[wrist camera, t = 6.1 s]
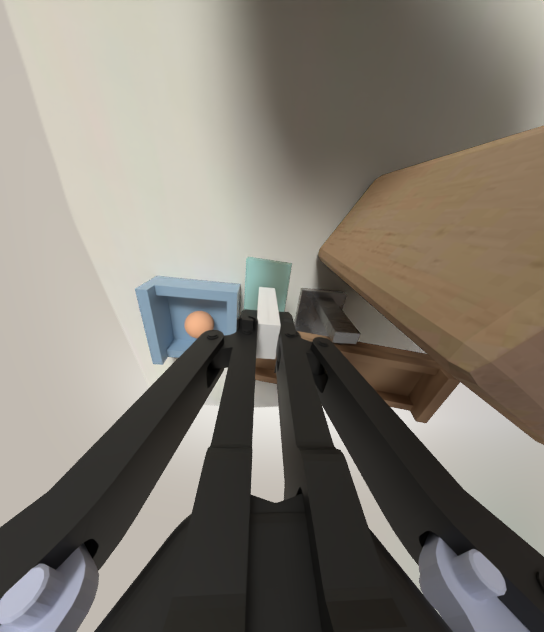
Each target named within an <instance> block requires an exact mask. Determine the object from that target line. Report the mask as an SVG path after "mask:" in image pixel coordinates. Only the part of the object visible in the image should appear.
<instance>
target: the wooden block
mask: <svg viewBox="0 0 544 632" xmlns="http://www.w3.org/2000/svg"><path fill="white" fill-rule="evenodd" d="M318 256H319V258H320V260H321V261H322V262H323V263H324V264H325V265H326V266H327V267H329V268H330V269H331V270H332V271H333V272H334V273H335V274H337V275H338V276H339V277H340V278H341V279H342V280H343V281H345V282H346V283H347V284H348V285H349V286H350V287H351V288H353V289H354V290H355V291H356V292H357V293H358V294H359V295H361V296H362V297H363V298H364V299H365V300H366V301H367V302H369V303H370V304H371V305H372V306H373V307H374V308H375V309H377V310H378V311H379V312H380V313H381V314H382V315H383V316H385V317H386V318H387V319H388V320H389V321H390V322H391V323H393V324H394V325H395V326H396V327H397V328H398V329H399V330H401V331H402V332H403V333H404V334H405V335H406V336H407V337H409V338H410V339H411V340H412V341H413V342H414V343H415V344H417V345H418V346H419V347H420V348H421V349H422V350H423V351H425V352H426V353H427V354H428V355H429V356H430V357H431V358H433V359H434V360H435V361H436V362H437V363H438V364H439V365H441V366H442V367H443V368H444V369H445V370H446V371H447V372H449V373H450V374H451V375H452V376H453V377H455V378H456V379H457V380H459V381H460V382H461V383H462V384H464V385H465V386H466V387H468V388H469V389H470V390H471V391H473V392H474V393H475V394H476V395H478V396H479V397H480V398H482V399H483V400H484V401H485V402H487V403H488V404H489V405H491V406H492V407H493V408H494V409H496V410H497V411H498V412H499V413H501V414H502V415H503V416H505V417H506V418H507V419H508V420H510V421H511V422H512V423H514V424H515V425H516V426H517V427H519V428H520V429H521V430H522V431H524V432H525V433H526V434H528V435H529V436H530V437H531V438H533V439H534V440H535V441H537V442H539V443H541V444H543V445H544V126H541V127H537V128H534V129H531V130H528V131H524V132H521V133H518V134H515V135H511V136H508V137H505V138H502V139H498V140H495V141H492V142H488V143H485V144H482V145H479V146H475V147H472V148H469V149H466V150H462V151H459V152H456V153H453V154H449V155H446V156H443V157H439V158H436V159H433V160H430V161H426V162H423V163H420V164H417V165H413V166H410V167H407V168H404V169H400V170H397V171H394V172H391V173H387V174H384V175H382V176H380V177H379V178H377V179H376V180H375V181H374V182H373V183H372V184H371V186H370V187H369V188H368V189H367V191H366V192H365V193H364V194H363V196H362V197H361V198H360V199H359V201H358V202H357V203H356V204H355V206H354V207H353V208H352V209H351V211H350V212H349V213H348V214H347V216H346V217H345V218H344V219H343V221H342V222H341V223H340V224H339V225H338V227H337V228H336V229H335V230H334V232H333V233H332V234H331V235H330V237H329V238H328V239H327V240H326V242H325V243H324V244H323V245H322V247H321V248H320V251H319V253H318Z"/></svg>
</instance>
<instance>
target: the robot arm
mask: <svg viewBox="0 0 544 632" xmlns="http://www.w3.org/2000/svg"><path fill="white" fill-rule="evenodd" d="M256 358H263V359H275V358H277V359H276V365H275V371H274V373H276V376H277V389H278V402H279V415H280V426H281V440H282V453H283V466H284V478H285V489H284V501H281V502H278V503H273V502H270V501H267V500H265V499H261V498H259V497H256V496H253V495H250V493H251V470H252V433H253V411H254V391H255V369H256ZM226 367H228V370H227V375H226V379H225V384H224V388H223V393H222V397H221V402H220V406H219V411H218V415H217V420H216V424H215V429H214V433H213V438H212V442H211V446H210V447H209V448H208V450H207V452H206V456H205V460H204V464H203V468H202V472H201V477H200V481H199V485H198V489H197V493H196V498H195V502H194V506H193V510H192V514H191V515H189V516H188V517H187V518H186V519H185V520H183V521H182V522H181V524H180V525H179V526H178V527H177V528H176V529H175V530H174V531H173V532H172V534H171V535H170V536H169V537H168V538H167V540H166V541H165V542H164V544H163V545H162V546H161V547H160V548H159V550H158V551H157V552H156V554H155V555H154V556H153V557H152V559H151V560H150V561H149V563H148V564H147V565H146V566H145V568H144V569H143V570H142V571H141V573H140V574H139V575H138V577H137V578H136V579H135V580H134V582H133V583H132V584H131V585H130V587H129V588H128V589H127V591H126V592H125V593H124V594H123V596H122V597H121V598H120V599H119V601H118V602H117V603H116V605H115V606H114V607H113V608H112V610H111V611H110V612H109V613H108V615H107V616H106V617H105V619H104V620H103V621H102V623H101V624H100V625H99V626H98V627H97V629H96V630H95V631H94V632H544V557H543V556H542V555H541V554H540V553H538V552H537V551H536V550H535V549H534V548H533V547H531V546H530V545H529V544H528V543H527V542H525V541H524V540H523V539H522V538H521V537H520V536H518V535H517V534H516V533H515V532H514V531H512V530H511V529H510V528H509V527H507V526H506V525H505V524H504V523H503V522H502V521H500V520H499V519H498V518H497V517H495V515H493V514H492V513H491V512H490V511H488V510H487V509H486V508H485V507H484V506H482V505H481V504H480V503H479V502H478V501H477V500H475V499H474V498H473V497H472V496H471V495H469V494H468V493H467V492H466V491H465V490H464V489H463V488H462V487H461V486H460V485H459V484H458V483H457V482H456V480H455V479H454V478H453V477H452V476H451V475H450V474H449V472H448V471H447V470H446V469H445V468H444V467H443V466H442V465H441V464H440V462H439V461H438V460H437V459H436V458H435V457H434V456H433V455H432V454H431V452H430V451H429V450H428V449H427V448H426V447H425V446H424V444H423V443H422V442H421V441H420V440H419V439H418V438H417V437H416V436H415V434H414V433H413V432H412V431H411V430H410V429H409V428H408V427H407V425H406V424H405V423H404V422H403V421H402V420H401V419H400V418H399V416H398V415H397V414H396V413H395V412H394V411H393V410H392V409H391V408H390V406H389V405H388V404H387V403H386V402H385V401H384V400H383V399H382V397H381V396H380V395H379V394H378V393H377V392H376V391H375V390H374V388H373V387H372V386H371V385H370V384H369V383H368V382H367V381H366V380H365V378H364V377H363V376H362V375H361V374H360V373H359V372H358V371H357V369H356V368H355V367H354V366H353V365H352V364H351V363H350V362H349V360H348V359H347V358H346V357H345V356H344V355H343V354H342V353H341V352H340V350H339V349H338V348H337V347H336V346H335V345H334V344H333V343H332V342H331V341H330V340H329V339H327V338H323V337H316V338H314V339H313V341H308V340H305V339H303V338H301V335H300V333H299V332H297V331H296V329H295V325H294V322H293V318H292V315H291V314H290V313H289V312H279V311H278V305H277V298H276V292H275V288H267V287H259V294H258V305H257V310H249V309H245V310H243V311H242V313H241V316H240V317H238V318H237V327H236V332H235V333H233V334H231V335H224V334H223V333H222V332H221V331H219V330H208V331H205V332H204V333H202V334H201V335H200V336H199V337H198V338H197V339H196V340H195V342H194V343H193V344H192V345H191V346H190V347H189V348H188V349H187V350H186V351H185V352H184V353H183V354H182V355H181V356H180V357H179V358H178V359H177V360H176V361H175V362H174V363H173V364H172V365H171V366H170V367H169V368H168V369H167V370H166V371H165V372H164V373H163V374H162V375H161V376H160V377H159V378H158V379H157V380H156V382H155V383H154V384H153V385H152V386H151V387H150V388H149V389H148V390H147V391H146V392H145V393H144V394H143V395H142V396H141V397H140V398H139V399H138V400H137V401H136V402H135V403H134V404H133V405H132V406H131V407H130V408H129V409H128V410H127V411H126V412H125V413H124V414H123V415H122V417H120V419H118V420H117V422H116V423H115V424H114V425H113V426H112V427H111V428H110V429H109V430H108V431H107V432H106V433H105V434H104V435H103V436H102V437H101V438H100V439H99V440H98V441H97V442H96V443H95V444H94V445H93V446H92V447H91V448H90V449H89V450H88V451H87V452H86V453H85V454H84V455H83V456H82V458H80V459H79V460H78V462H77V463H76V464H75V465H74V466H73V467H72V468H71V469H70V470H69V471H68V472H67V473H66V474H65V475H64V476H63V477H62V478H61V479H60V480H59V481H58V482H57V483H56V484H55V485H54V486H53V487H52V488H51V489H50V490H49V491H48V492H47V493H46V494H44V495H43V496H42V497H40V498H39V499H38V500H36V501H35V502H34V503H32V504H31V505H30V506H28V507H27V508H25V509H24V510H23V511H22V512H20V513H19V514H17V515H16V516H15V517H14V518H12V519H11V520H9V521H8V522H7V523H5V524H4V525H3V526H1V527H0V632H76V631H77V630H78V628H79V626H80V625H81V623H82V622H83V620H84V618H85V617H86V615H87V614H88V612H89V609H90V607H91V605H92V603H93V601H94V598H95V595H96V591H97V587H98V580H99V573H98V570H99V569H100V568H101V567H102V566H103V564H104V563H105V562H106V560H107V559H108V558H109V556H110V555H111V553H112V552H113V551H114V549H115V548H116V547H117V545H118V544H119V542H120V541H121V540H122V538H123V537H124V535H125V534H126V532H127V530H128V529H129V527H130V526H131V524H132V523H133V521H134V520H135V518H136V516H137V515H138V513H139V511H140V510H141V508H142V506H143V505H144V503H145V501H146V500H147V498H148V496H149V495H150V493H151V491H152V490H153V488H154V486H155V485H156V483H157V481H158V480H159V478H160V476H161V475H162V473H163V471H164V470H165V468H166V466H167V465H168V463H169V461H170V459H171V458H172V456H173V455H174V453H175V451H176V450H177V448H178V446H179V445H180V443H181V441H182V439H183V438H184V436H185V434H186V433H187V431H188V429H189V428H190V426H191V424H192V423H193V421H194V419H195V418H196V416H197V414H198V413H199V411H200V409H201V408H202V406H203V404H204V403H205V401H206V399H207V398H208V396H209V394H210V393H211V391H212V389H213V388H214V386H215V384H216V383H217V381H218V379H219V378H220V376H221V374H222V373H223V371H224V368H226ZM321 404H322V405H321ZM322 406H323V408H324V409H325V411H326V413H327V415H328V416H329V418H330V420H331V422H332V423H333V425H334V427H335V429H336V431H337V432H338V434H339V436H340V438H341V439H342V441H343V443H344V445H345V446H346V448H347V450H348V452H349V454H350V455H351V457H352V459H353V461H354V463H355V464H356V466H357V468H358V470H359V471H360V473H361V475H362V477H363V479H364V480H365V482H366V484H367V485H368V487H369V489H370V491H371V493H372V494H373V496H374V498H375V500H376V502H377V503H378V505H379V507H380V509H381V511H382V512H383V514H384V516H385V517H386V519H387V521H388V522H389V524H390V526H391V527H392V529H393V531H394V532H395V534H396V535H397V536H398V538H399V539H400V541H401V542H402V544H403V545H404V547H405V548H406V549H407V551H408V553H409V554H410V555H411V557H412V558H413V559H414V560H415V562H416V563H417V564H418V565H419V572H420V578H419V583H420V587H421V591H422V592H423V594H422V593H421V592H420V590H419V589H418V588H417V587H416V585H415V584H414V583H413V582H412V580H411V579H410V578H409V577H408V576H407V574H406V573H405V572H404V571H403V569H402V568H401V567H400V566H399V564H398V563H397V562H396V561H395V560H394V558H393V557H392V556H391V555H390V553H389V552H388V551H387V550H386V548H385V547H384V546H383V545H382V544H381V542H380V541H379V540H378V539H377V537H376V536H375V535H374V534H373V533H372V531H371V530H370V529H369V528H368V525H367V522H366V519H365V516H364V513H363V510H362V507H361V504H360V501H359V498H358V495H357V492H356V489H355V486H354V483H353V480H352V477H351V474H350V471H349V468H348V465H347V462H346V459H345V457H344V454H343V453H342V452H341V450H338V449H336V448H335V447H334V445H333V442H332V438H331V435H330V432H329V428H328V425H327V422H326V418H325V415H324V412H323V408H322ZM434 608H435V609H436V610H438V612H439V613H440V615H441V616H440V615H439V614H438V613H437V611H436V610H435V609H434ZM442 618H443V619H442Z"/></svg>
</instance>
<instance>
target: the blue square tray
mask: <svg viewBox="0 0 544 632" xmlns="http://www.w3.org/2000/svg"><path fill="white" fill-rule="evenodd" d="M135 291H136V295H137V300H138V304H139V308H140V312H141V316H142V320H143V324H144V328H145V333H146V337H147V341H148V345H149V349H150V353H151V357H152V361H153V364H162V365H163V363H164V362H165V360H166V359H167V357H178V358H179V357H180V356H181V355H182V354H183V353H184V352H185V351H186V350H187V349H188V348H189V347H190V346H191V345H192V344H193V343H194V342H195V340H196V339H197V338H193V337H191V336H190V335H189V334H188V333H187V332H186V330H185V326H184V324H185V320H186V318H187V316H188V315H189V314H191V313H192V312H195V311H204V312H207V313H208V314H210V315H211V317H212V318H213V320H214V329H213V330H219V331H221V332H222V333H223V334H224V335H231V334H233V333H235V332H236V327H237V318H238V317H239V305H240V284H234V283H223V282H213V281H203V280H192V279H182V278H172V277H162V276H155V277H154V278H152V279H151V280H149V281H147V282H146V283H144V284H142V285H141V286H139V287H137V288H136V289H135Z"/></svg>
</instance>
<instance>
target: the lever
mask: <svg viewBox="0 0 544 632" xmlns="http://www.w3.org/2000/svg"><path fill="white" fill-rule="evenodd" d="M291 267H292V263H287V262H280V261H273V260H267V259H260V258H253V257H248V258H246V278H245V298H244V310H245V309H249V310H257V305H258V294H259V287H267V288H275V292H276V298H277V305H278V311H279V312H284V310H285V303H286V297H287V291H288V285H289V279H290V273H291ZM297 332H299V333H300V335H301V338H303V339H305V340H308V341H313V339H314V338H316V337H323V338H327V339H329V340H330V341H331V339H330V337H328V336H322V335H317V334H311V333H305V332H300V331H297ZM331 342H332V341H331ZM332 343H333V342H332ZM333 344H334V345H335V346H336V347H337V348H338V349H339V350H340V352H341V353H342V354H343V355H344V356H345V357H346V358H347V359H348V360H349V362H350V363H351V364H352V365H353V366H354V367H355V368H356V369H357V371H358V372H359V373H360V374H361V375H362V376H363V377H364V378H365V380H366V381H367V382H368V383H369V384H370V385H371V386H372V387H373V388H374V390H375V391H376V392H377V393H378V394H379V395H380V396H381V397H382V399H383V400H384V401H385V402H386V403H387V404H388V405H389V406H390V407H394V408H400V409H404V410H409V411H411V413H412V415H413V417H414V419H415V420H416V421H417V422H423V423H427V422H428V420H429V419H430V418H431V417H432V416H433V414H434V413H435V412H436V411H437V409H438V408H439V407H440V406H441V405H442V403H443V402H444V401H445V400H446V399H447V397H448V396H449V395H450V394H451V392H452V391H453V390H454V389H455V388H456V387H457V385H458V384H459V383H460V381H459V380H457V379H456V378H455V377H453V376H452V375H451V374H450V373H449V372H447V371H446V370H445V369H444V368H443V367H442V366H441V365H439V364H438V363H437V362H436V361H435V360H434V359H433V358H431V357H430V356H429V355H428V354H424V353H418V352H413V351H407V350H401V349H396V348H390V347H384V346H379V345H373V344H368V343H362V342H357V343H356V344H347V343H333ZM276 359H277V358H275V359H263V358H256V369H255V380H259V381H264V382H269V383H274V384H277V376H276V373H274V371H275V365H276Z"/></svg>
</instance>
